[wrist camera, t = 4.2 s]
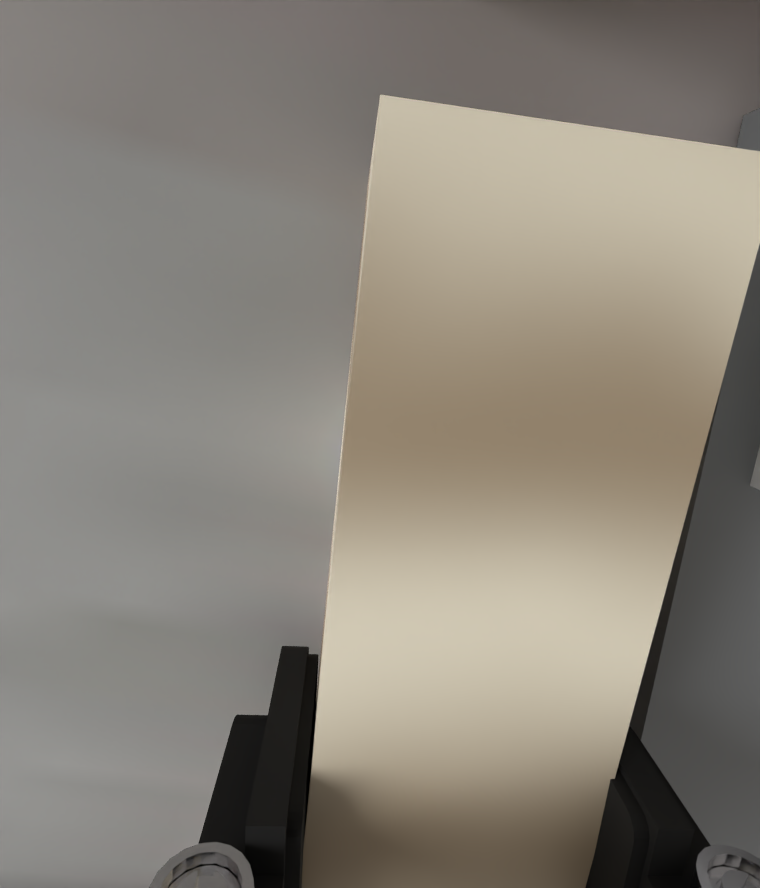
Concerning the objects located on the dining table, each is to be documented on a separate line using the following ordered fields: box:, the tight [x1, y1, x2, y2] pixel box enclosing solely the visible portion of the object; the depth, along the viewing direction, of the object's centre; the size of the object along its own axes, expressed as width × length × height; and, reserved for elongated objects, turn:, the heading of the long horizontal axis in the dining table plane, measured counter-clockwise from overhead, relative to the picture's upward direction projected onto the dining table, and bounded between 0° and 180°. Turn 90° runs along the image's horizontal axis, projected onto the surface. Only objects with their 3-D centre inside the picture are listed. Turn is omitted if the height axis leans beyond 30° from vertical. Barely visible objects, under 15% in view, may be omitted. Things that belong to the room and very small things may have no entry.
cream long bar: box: [302, 95, 760, 888], centre depth 10 cm, size 20×4×4 cm, turn 173°
